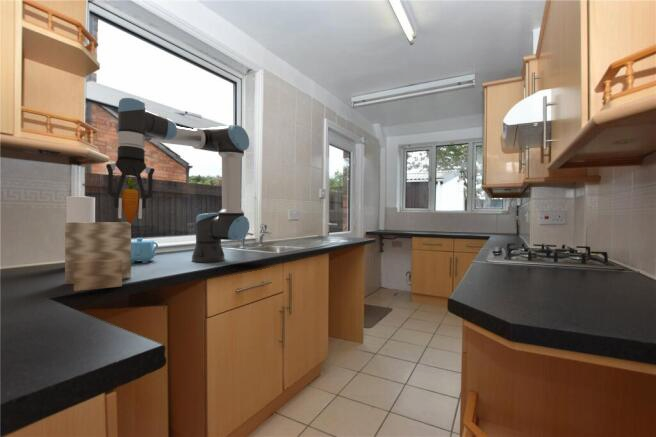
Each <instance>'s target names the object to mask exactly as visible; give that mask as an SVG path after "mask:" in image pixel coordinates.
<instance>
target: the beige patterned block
mask: <svg viewBox="0 0 656 437" xmlns="http://www.w3.org/2000/svg"><path fill="white" fill-rule="evenodd" d="M131 241H132V223H131V224H129V223H128V221H121V222H119V221H118V222H117V221H116V222H114V221H113V222H108V221H107V222H106V221H101V222H99V221H98V222H97V221H95V222H67V221H66V222H64V242H65V243H64V278H65V279H64V284H65V285H71V284H73V292H78V291H88V290H98V289H105V288H106V289H107V288H117V287H122V286H123V280H125V278H129V279H132V264H131Z"/></svg>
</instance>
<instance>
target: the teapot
mask: <svg viewBox="0 0 656 437" xmlns="http://www.w3.org/2000/svg"><path fill="white" fill-rule="evenodd" d="M158 247H159V245H158V243H157V242H156V241H155V240H144V238H143V237H137V238H136V240H131V265H132V264H135V262H137V261H141V263H142V264H147V263H149V262H150V261H152V260H153V259H154V258H155V257H156V256H157V252H155V251H157V250H158Z"/></svg>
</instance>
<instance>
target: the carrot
mask: <svg viewBox="0 0 656 437" xmlns="http://www.w3.org/2000/svg"><path fill="white" fill-rule="evenodd" d="M125 182H126V185H127V188H124V189H123V190H121V198H122V212H123V215H124V217H125V219H126V222H128V223H129V224H131V225H132V223H133V222H134V221H135V219H136V217H137V215H138V209H139V199H140V191H139V189H138V190H137V189H135V187H136V186H138V182H137V181H136V182H134V180H133V177H128V179H125Z"/></svg>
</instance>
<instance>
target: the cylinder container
mask: <svg viewBox="0 0 656 437" xmlns="http://www.w3.org/2000/svg"><path fill="white" fill-rule="evenodd" d="M66 222H96V197H95V196H93V197H92V196H86V195H75V196H74V195H72V196H71V195H70V196H66Z"/></svg>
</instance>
